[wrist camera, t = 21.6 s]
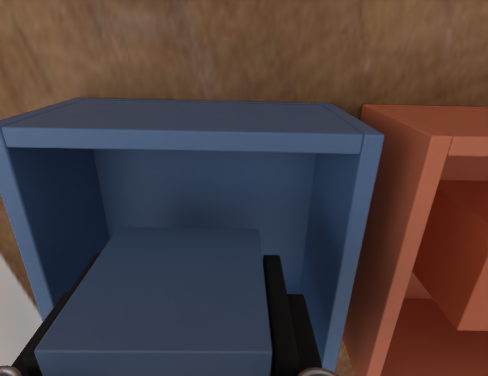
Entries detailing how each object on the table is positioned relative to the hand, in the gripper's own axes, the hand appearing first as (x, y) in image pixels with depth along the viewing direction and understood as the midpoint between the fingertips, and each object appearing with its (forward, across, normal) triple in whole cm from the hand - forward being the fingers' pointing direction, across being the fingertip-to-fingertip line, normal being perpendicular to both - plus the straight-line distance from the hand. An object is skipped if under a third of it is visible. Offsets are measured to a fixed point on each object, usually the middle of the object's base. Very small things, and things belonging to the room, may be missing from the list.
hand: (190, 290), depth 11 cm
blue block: (0, 0, 0) cm, 0 cm away
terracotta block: (+5, -13, 0) cm, 14 cm away
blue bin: (+6, 0, 0) cm, 6 cm away
